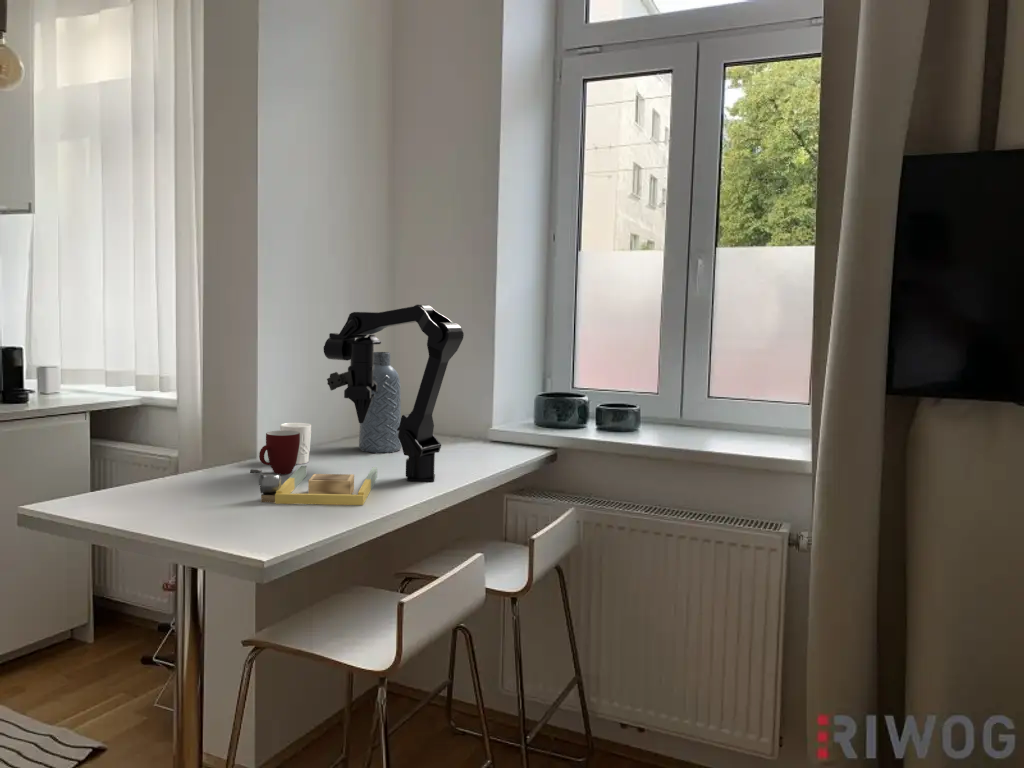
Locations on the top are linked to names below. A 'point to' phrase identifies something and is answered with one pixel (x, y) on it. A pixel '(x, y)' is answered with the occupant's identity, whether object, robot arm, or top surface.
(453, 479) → the top surface
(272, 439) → the mug
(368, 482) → the bay
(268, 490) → the winch
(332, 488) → the box
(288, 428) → the white cup
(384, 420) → the vase
